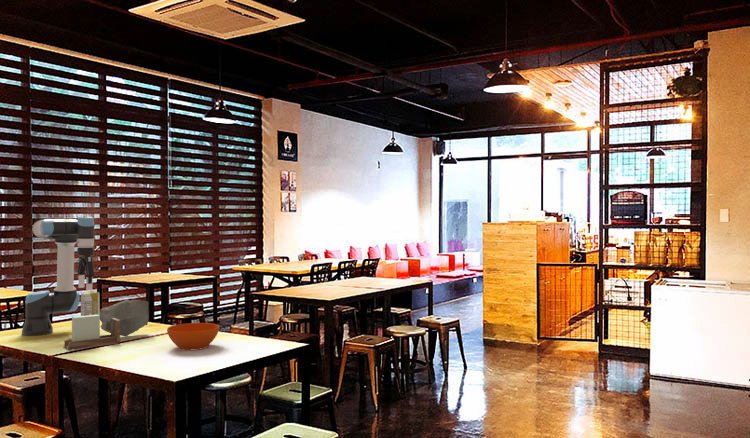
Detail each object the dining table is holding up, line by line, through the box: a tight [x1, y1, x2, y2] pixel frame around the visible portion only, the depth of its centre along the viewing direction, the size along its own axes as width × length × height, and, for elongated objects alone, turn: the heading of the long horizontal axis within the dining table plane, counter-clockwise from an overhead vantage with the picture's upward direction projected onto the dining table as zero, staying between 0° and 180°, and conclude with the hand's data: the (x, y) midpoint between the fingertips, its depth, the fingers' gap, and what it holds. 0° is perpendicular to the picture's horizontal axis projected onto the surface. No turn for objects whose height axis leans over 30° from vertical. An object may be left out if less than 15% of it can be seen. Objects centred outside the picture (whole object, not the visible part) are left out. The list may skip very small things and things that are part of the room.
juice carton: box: [80, 289, 101, 316], centre depth 330 cm, size 9×8×24 cm
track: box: [63, 318, 121, 351], centre depth 297 cm, size 10×24×12 cm, turn 131°
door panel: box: [71, 315, 101, 342], centre depth 295 cm, size 4×12×14 cm, turn 131°
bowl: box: [166, 322, 220, 351], centre depth 293 cm, size 25×25×10 cm
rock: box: [100, 299, 150, 337], centre depth 319 cm, size 27×6×20 cm, turn 137°
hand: (85, 288), depth 295 cm, fingers open, 13 cm apart
